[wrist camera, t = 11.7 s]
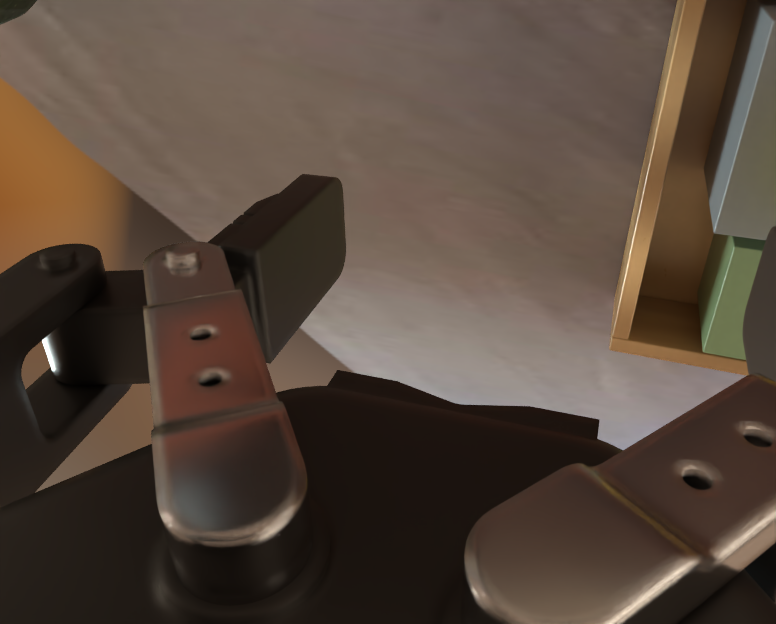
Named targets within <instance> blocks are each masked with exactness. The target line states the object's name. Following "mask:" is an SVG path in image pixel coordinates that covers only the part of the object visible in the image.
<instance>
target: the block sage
mask: <svg viewBox="0 0 776 624" xmlns="http://www.w3.org/2000/svg"><path fill="white" fill-rule="evenodd" d="M765 242H766V240H759V239H752V238H745V237H738V236H730V235H723V234H716V233H714V235H713V238H712V242H711V246H710V249H709V253H708V256H707V260H706V264H705V267H704V271H703V274H702V278H701V281H700V285H699V289H698V292H697V294H698V305H699V316H700V327H701V338H702V349H703V352H704V353H709V354H715V355H721V356H726V357H732V358H737V359H743V360H746V356H745V350H744V344H743V335H742V332H743V321H744V315H745V310H746V306H747V302H748V299H749V295H750V292H751V289H752V285H753V282H754V278H755V275H756V272H757V268H758V265H759V262H760V258H761V255H762V252H763V248H764V245H765Z"/></svg>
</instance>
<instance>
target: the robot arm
mask: <svg viewBox="0 0 776 624" xmlns="http://www.w3.org/2000/svg"><path fill="white" fill-rule="evenodd" d="M345 256H346V241H345V222H344V202H343V189H342V184H341V182H340V180H339V179H338V178H336V177H327V176H318V175H309V174H302V175H300V176H299V177H298V178H297V179H296V180H295V181H293V182H292V183H291V184H290V185H289V186H287V187H286V188H285V189H284V190H283V191H282V192H280V193H279V194H275V195H273V196H270V197H268V198H265V199H263V200H261V201H258V202H256V203H255V204H254V205H253V206H251V207H250V208H249V209H248V210H246V211H245V212H244V215H240V216H239V217H238V218H237V219H236V220H234V221H233V224H229V225H228V226H227V227H226V228H225V229H223V230H222V231H221V232H220V233H218V234H217V235H216V236H215V237H214V238H212V239H211V240H210V241H209V242H208V243H206V242H181V243H176V244H171V245H168V246H165V247H162V248H160V249H158V250H155V251H154V252H152V253H151V254H150V255H149V256H147V257H146V258H145V260H144V262H143V270H129V271H105V268H104V264H103V260H102V256H101V253H100V251H99V250H98V249H97V248H95V247H93V246H90V245H85V244H65V245H58V246H53V247H49V248H45V249H42V250H40V251H37V252H35V253H32V254H30V255H29V256H27V257H25V258H24V259H22V260H21V261H20V262H18V263H16V264H15V265H13V266H12V267H10V268H9V269H7V270H6V271H4V272H3V273H1V274H0V624H776V226H773V227H772V228H771V230H770V231H769V234H768V236H767V239H766V242H765V245H764V248H763V252H762V255H761V258H760V262H759V265H758V268H757V272H756V275H755V278H754V282H753V285H752V289H751V292H750V295H749V299H748V302H747V306H746V310H745V315H744V321H743V332H742V335H743V344H744V350H745V356H746V362H747V368H748V374H749V375H748V376H746V377H744V378H743V379H741V380H739V381H738V382H736V383H734V384H733V385H731V386H729V387H728V388H726V389H724V390H723V391H721V392H719V393H718V394H716V395H714V396H713V397H711V398H709V399H708V400H706V401H704V402H703V403H701V404H699V405H698V406H696V407H695V408H693V409H691V410H690V411H688V412H686V413H685V414H683V415H681V416H680V417H678V418H676V419H675V420H673V421H671V422H670V423H668V424H666V425H665V426H663V427H661V428H660V429H658V430H656V431H655V432H653V433H651V434H650V435H648V436H646V437H645V438H643V439H642V440H640V441H638V442H637V443H635V444H633V445H632V446H630V447H628V448H627V449H625V450H621V449H619V448H617V447H615V446H613V445H611V444H609V443H606V442H604V441H601V440H599V439H597V436H598V427H599V419H593V418H588V417H583V416H577V415H572V414H567V413H562V412H556V411H551V410H546V409H541V408H535V407H530V406H491V405H461V404H455V403H452V402H449V401H447V400H444V399H442V398H439V397H436V396H434V395H431V394H429V393H426V392H423V391H421V390H418V389H416V388H413V387H411V386H408V385H405V384H403V383H400V382H398V381H393V380H388V379H383V378H377V377H372V376H367V375H361V374H356V373H351V372H346V371H340V370H337V372H336V373H335V375H334V376H333V378H332V379H331V381H330V382H329V384H328V385H327V386H313V387H302V388H295V389H290V390H286V391H281V392H277V393H276V391H275V389H274V385H273V383H272V379H271V376H270V373H269V371H268V368H267V365H266V363H271V362H272V361H273V360H274V358H275V357H276V356H277V355H278V353H279V352H280V351H281V350H282V348H283V347H284V346H285V344H286V343H287V342H288V341H289V339H290V338H291V337H292V336H293V334H294V333H295V332H296V331H297V329H298V328H299V327H300V326H301V324H302V323H303V322H304V321H305V319H306V318H307V317H308V316H309V314H310V313H311V312H312V310H313V309H314V308H315V307H316V305H317V304H318V303H319V302H320V300H321V299H322V298H323V297H324V295H325V294H326V293H327V292H328V290H329V289H330V288H331V287H332V285H333V284H334V283H335V282H336V280H337V279H338V278H339V276H340V274H341V272H342V270H343V266H344V262H345ZM40 341H42V342H43V345H44V348H45V351H46V354H47V357H48V360H49V363H50V366H51V368H49V369H48V370H47V371H46V372H45V373H44V374H43V375H42V376H41V377H39V378H38V379H37V380H36V381H35V382H34V383H33V384H32V385H30V386H29V387H28V388H27V389H26V390H25V387H24V384H23V381H22V377H21V368H22V364H23V361H24V358H25V356H26V355H27V354H28V352H29V351H30V350H31V349H32V348H33V347H35V346H36V345H37V344H38V343H39V342H40ZM141 383H150V390H151V400H152V413H153V424H154V429H153V430H152V433H151V435H152V436H151V438H152V444H150V445H148V446H146V447H143V448H141V449H138V450H136V451H133V452H131V453H129V454H126V455H124V456H122V457H119V458H117V459H114V460H112V461H110V462H107V463H105V464H102V465H100V466H98V467H95V468H93V469H91V470H88V471H86V472H83V473H81V474H79V475H76V476H74V477H72V478H69V479H67V480H64V481H62V482H60V483H58V484H55V485H53V486H51V487H48V488H45V489H43V490H41V491H38V492H36V490H37V489H38V488H39V487H40V486H41V485H42V484H43V483H44V482H45V481H46V480H47V478H48V477H49V476H50V475H51V474H52V473H53V472H54V471H55V470H56V469H57V468H58V466H59V465H60V464H61V463H62V462H63V461H64V460H65V459H66V458H67V457H68V456H69V455H70V453H71V452H72V451H73V450H74V449H75V448H76V447H77V446H78V445H79V444H80V442H82V440H83V439H84V438H85V437H86V436H87V435H88V434H89V432H91V431H92V430H93V428H94V427H95V426H96V425H97V424H98V423H99V422H100V421H101V420H102V419H103V418H104V416H105V415H106V414H107V413H108V412H109V411H110V410H111V409H112V408H113V407H114V406H115V405H116V403H117V402H118V401H119V400H120V399H121V398H122V397H123V396H124V395H125V394H126V393H127V391H128V390H129V389H130V387H131V385H132V384H141ZM35 492H36V493H35Z"/></svg>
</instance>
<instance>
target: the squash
mask: <svg viewBox="0 0 776 624" xmlns="http://www.w3.org/2000/svg"><path fill="white" fill-rule="evenodd" d="M36 1H37V0H0V24H3V23H5V22H8V21H10V20H12V19H15V18H17V17H19V16H21V15H23V14H24V13H26V12H27V11H28V10H29V9H30V8H31V7H32V6H33V4H34V3H35V2H36Z"/></svg>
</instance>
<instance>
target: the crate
mask: <svg viewBox="0 0 776 624" xmlns="http://www.w3.org/2000/svg"><path fill="white" fill-rule="evenodd" d="M746 3H747V0H677V4H676V9H675V14H674V19H673V23H672V28H671V33H670V38H669V42H668V47H667V52H666V57H665V61H664V66H663V71H662V76H661V80H660V85H659V90H658V94H657V99H656V104H655V109H654V113H653V118H652V123H651V128H650V132H649V137H648V142H647V147H646V151H645V156H644V161H643V166H642V170H641V175H640V180H639V185H638V189H637V194H636V199H635V204H634V208H633V213H632V218H631V223H630V227H629V232H628V237H627V242H626V246H625V251H624V256H623V261H622V265H621V270H620V275H619V279H618V284H617V289H616V294H615V300H614V310H613V318H612V327H611V336H610V345H609V349H610V350H612V351H617V352H623V353H628V354H634V355H639V356H644V357H650V358H655V359H661V360H666V361H671V362H677V363H682V364H688V365H693V366H699V367H704V368H709V369H715V370H720V371H726V372H731V373H736V374H742V375H747V376H748V375H749V374H748V368H747V362H746V360H743V359H737V358H732V357H726V356H721V355H715V354H709V353H704V352H703V349H702V338H701V327H700V316H699V305H698V294H697V292H698V289H699V285H700V281H701V278H702V274H703V271H704V267H705V264H706V260H707V256H708V253H709V249H710V246H711V242H712V238H713V235H714V231H713V225H712V219H711V212H710V206H709V199H708V193H707V186H706V180H705V173H704V166H705V162H706V158H707V154H708V150H709V146H710V142H711V138H712V135H713V131H714V127H715V123H716V119H717V115H718V111H719V107H720V104H721V100H722V96H723V92H724V88H725V84H726V80H727V76H728V73H729V69H730V65H731V61H732V57H733V53H734V49H735V45H736V41H737V38H738V34H739V30H740V26H741V22H742V18H743V14H744V10H745V7H746Z"/></svg>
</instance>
